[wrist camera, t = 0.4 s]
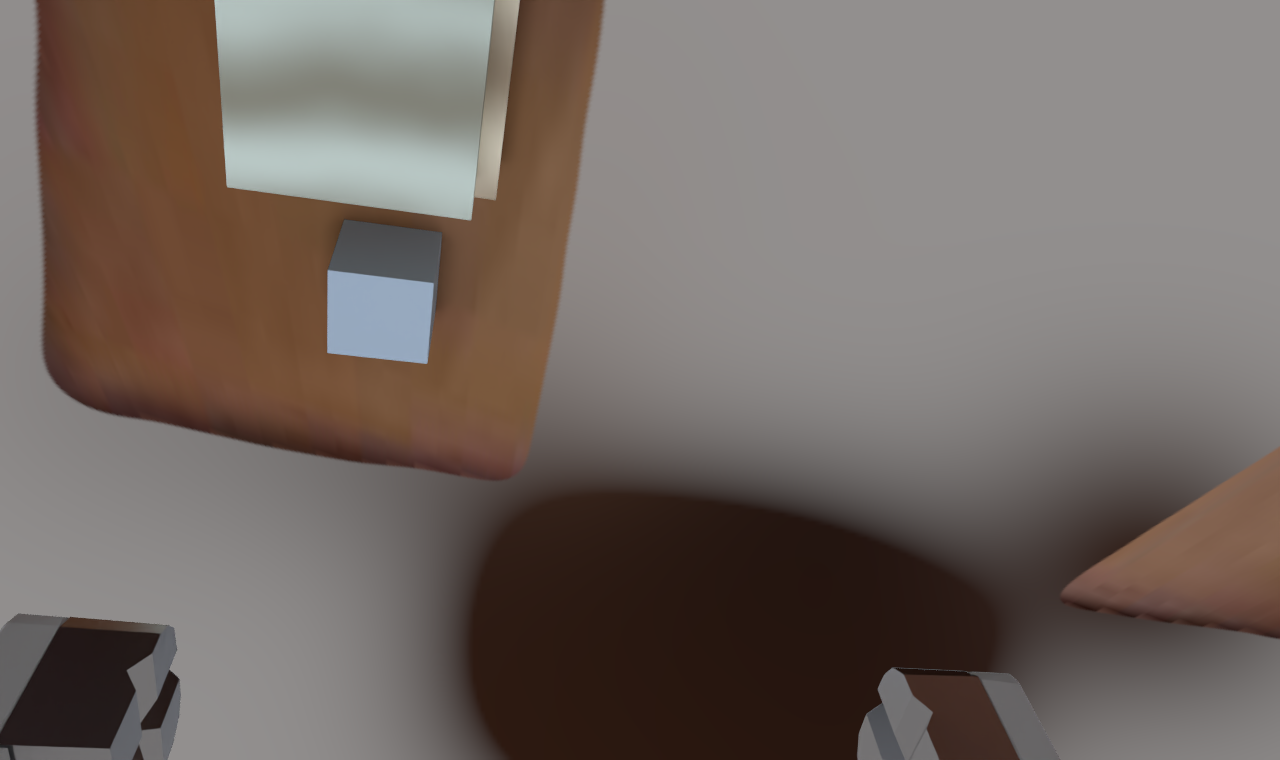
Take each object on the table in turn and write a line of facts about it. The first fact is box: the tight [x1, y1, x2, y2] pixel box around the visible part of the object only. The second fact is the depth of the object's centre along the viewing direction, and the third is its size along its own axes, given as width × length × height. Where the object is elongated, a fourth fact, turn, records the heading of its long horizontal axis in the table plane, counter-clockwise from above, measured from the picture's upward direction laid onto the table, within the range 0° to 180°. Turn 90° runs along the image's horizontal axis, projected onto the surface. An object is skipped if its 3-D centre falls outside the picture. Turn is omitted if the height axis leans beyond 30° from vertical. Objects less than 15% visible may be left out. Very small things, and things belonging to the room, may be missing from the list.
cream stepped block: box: [215, 0, 520, 220], centre depth 41 cm, size 12×12×8 cm
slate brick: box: [327, 219, 442, 364], centre depth 50 cm, size 5×5×5 cm
